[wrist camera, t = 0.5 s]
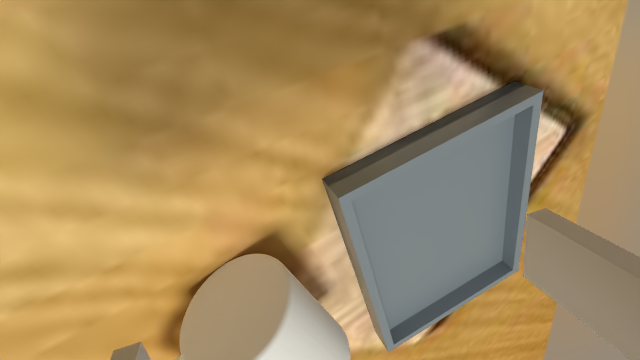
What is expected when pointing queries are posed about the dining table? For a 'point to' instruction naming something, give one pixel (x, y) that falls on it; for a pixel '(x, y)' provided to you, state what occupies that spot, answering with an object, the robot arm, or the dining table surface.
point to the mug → (258, 317)
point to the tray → (439, 211)
